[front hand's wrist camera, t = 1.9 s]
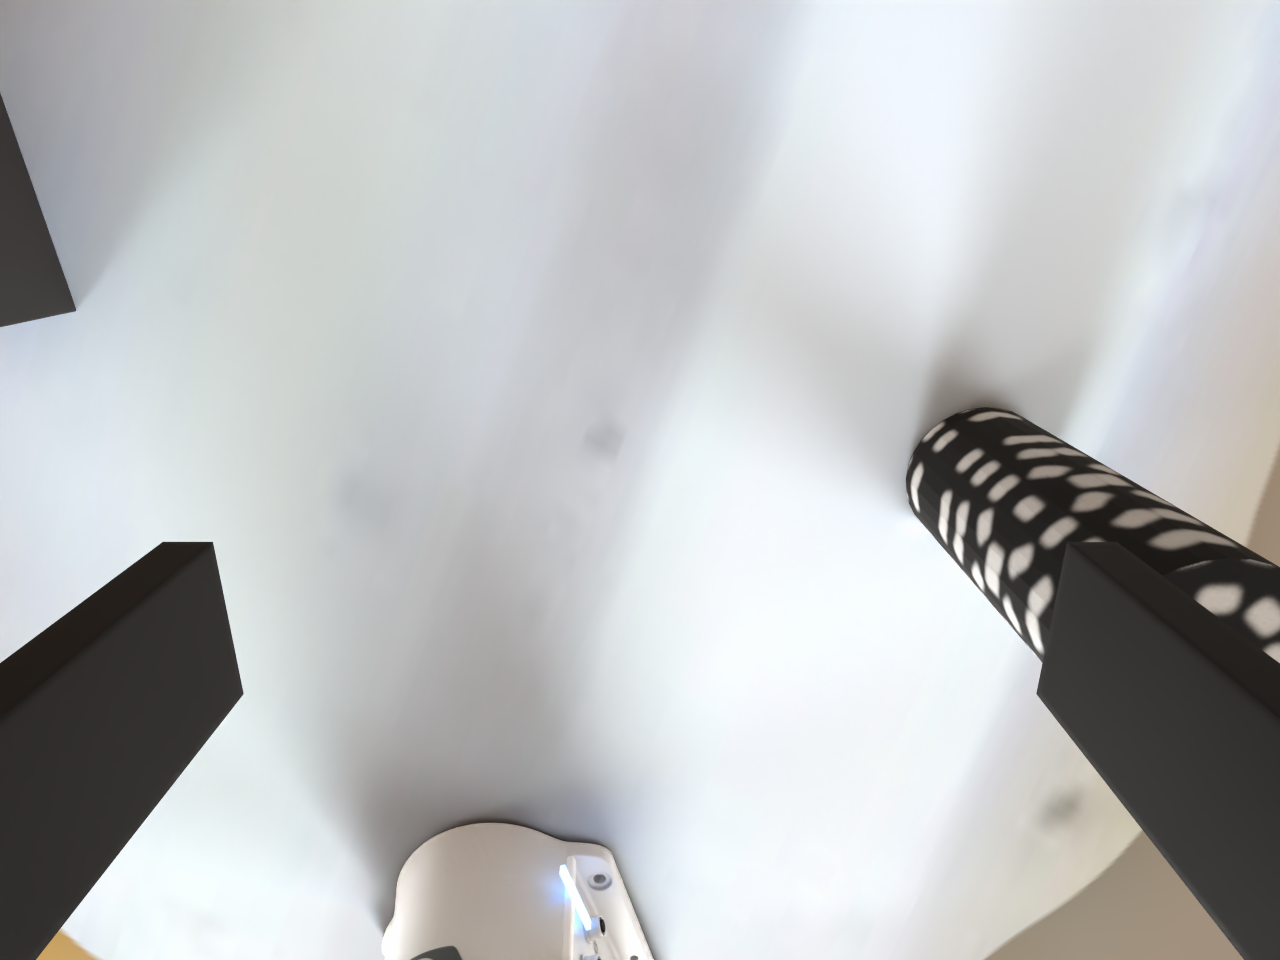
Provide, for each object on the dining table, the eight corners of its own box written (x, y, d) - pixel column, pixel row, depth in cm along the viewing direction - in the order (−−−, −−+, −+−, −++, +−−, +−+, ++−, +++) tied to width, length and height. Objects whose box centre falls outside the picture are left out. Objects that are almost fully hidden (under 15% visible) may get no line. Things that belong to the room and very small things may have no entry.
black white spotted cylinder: (876, 479, 47) (1036, 670, 28) (987, 377, 45) (1239, 510, 26) (966, 565, 49) (1171, 798, 30) (1076, 472, 47) (1370, 659, 28)
